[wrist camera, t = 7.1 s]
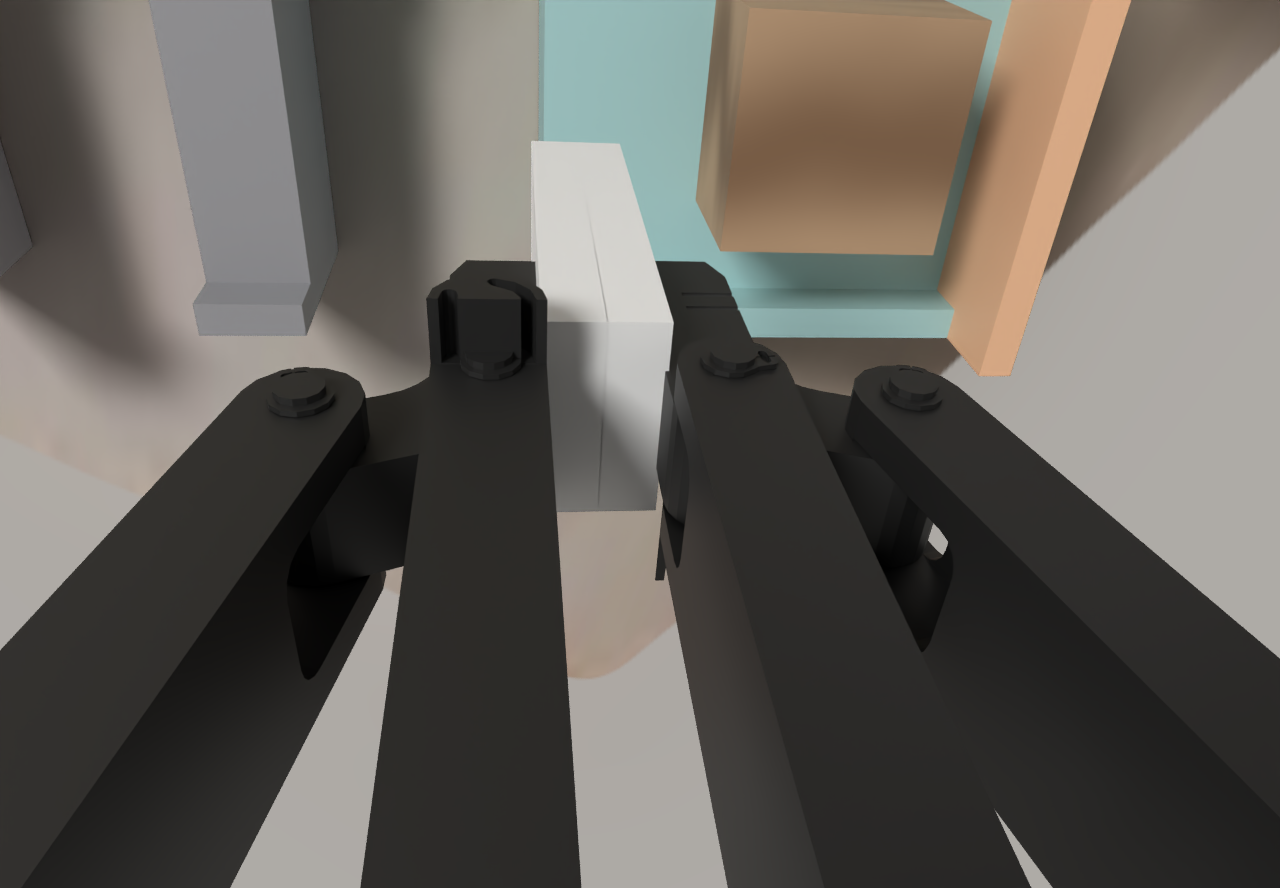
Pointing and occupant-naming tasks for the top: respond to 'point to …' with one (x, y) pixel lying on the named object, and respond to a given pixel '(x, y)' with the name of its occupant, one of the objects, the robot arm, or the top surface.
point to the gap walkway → (634, 166)
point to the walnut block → (835, 123)
